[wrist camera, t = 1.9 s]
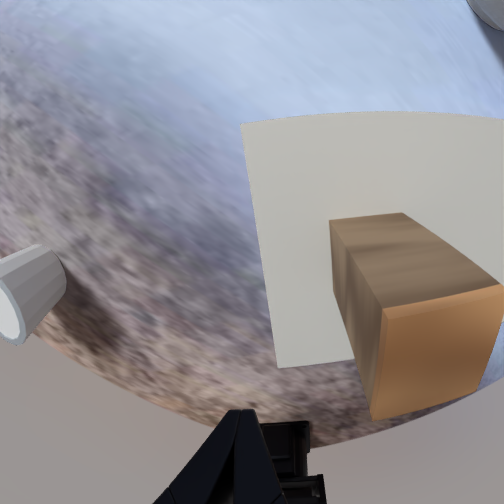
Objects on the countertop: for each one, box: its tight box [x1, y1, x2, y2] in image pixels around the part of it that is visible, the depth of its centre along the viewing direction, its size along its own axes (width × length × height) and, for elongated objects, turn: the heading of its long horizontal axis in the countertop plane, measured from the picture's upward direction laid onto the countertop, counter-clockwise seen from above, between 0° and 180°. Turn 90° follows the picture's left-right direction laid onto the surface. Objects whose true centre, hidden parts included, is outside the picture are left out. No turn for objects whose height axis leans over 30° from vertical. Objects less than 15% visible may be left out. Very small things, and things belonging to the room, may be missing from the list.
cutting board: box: [240, 111, 504, 368], centre depth 18 cm, size 18×24×1 cm
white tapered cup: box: [0, 245, 67, 345], centre depth 19 cm, size 7×7×7 cm
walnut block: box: [329, 212, 504, 421], centre depth 13 cm, size 5×5×11 cm
